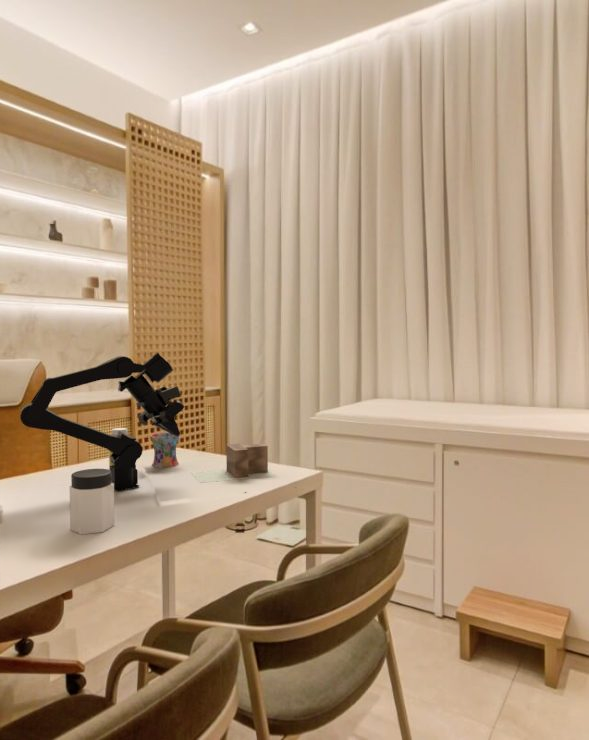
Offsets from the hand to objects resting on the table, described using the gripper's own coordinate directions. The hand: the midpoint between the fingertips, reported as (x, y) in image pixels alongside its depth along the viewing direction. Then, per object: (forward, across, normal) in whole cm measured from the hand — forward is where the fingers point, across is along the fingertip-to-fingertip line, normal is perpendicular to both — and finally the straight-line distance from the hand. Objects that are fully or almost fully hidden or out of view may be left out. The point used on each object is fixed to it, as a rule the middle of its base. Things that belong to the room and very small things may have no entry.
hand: (178, 435), depth 155 cm
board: (+20, -4, -4) cm, 21 cm away
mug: (+12, +21, +2) cm, 24 cm away
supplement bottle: (+3, +28, +11) cm, 30 cm away
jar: (-6, -22, +37) cm, 43 cm away
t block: (+22, -6, -7) cm, 24 cm away
